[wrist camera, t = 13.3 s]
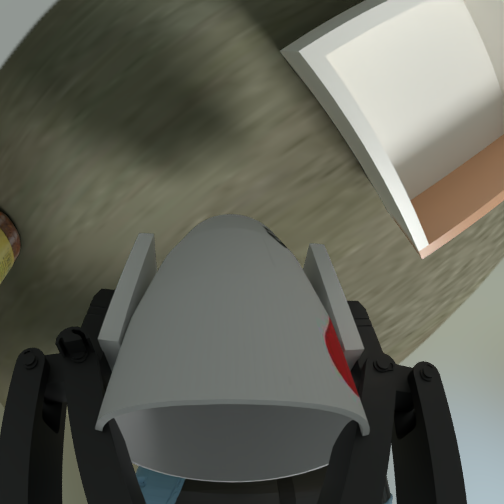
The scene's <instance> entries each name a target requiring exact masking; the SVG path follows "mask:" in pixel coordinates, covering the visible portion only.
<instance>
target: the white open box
mask: <svg viewBox="0 0 504 504" xmlns="http://www.w3.org/2000/svg"><path fill="white" fill-rule="evenodd" d="M280 52H281V54H282V55H283V56H284V57H285V59H286V60H287V62H288V63H289V65H290V66H291V67H292V69H293V70H294V71H295V72H296V74H297V75H298V76H299V77H300V78H301V80H302V81H303V82H304V83H305V84H306V85H307V86H308V88H309V89H310V90H311V92H312V93H313V95H314V96H315V97H316V99H317V100H318V101H319V103H320V104H321V106H322V107H323V108H324V110H325V111H326V113H327V114H328V115H329V117H330V118H331V120H332V121H333V123H334V124H335V126H336V127H337V129H338V130H339V132H340V133H341V135H342V136H343V138H344V139H345V141H346V142H347V144H348V145H349V147H350V148H351V150H352V152H353V153H354V155H355V156H356V158H357V160H358V161H359V163H360V164H361V166H362V168H363V170H364V172H365V174H366V176H367V178H368V179H369V181H370V182H371V184H372V185H373V187H374V188H375V190H376V192H377V193H378V195H379V197H380V199H381V200H382V202H383V204H384V206H385V208H386V210H387V211H388V213H389V214H390V215H391V217H392V218H393V219H394V221H395V222H396V223H397V225H398V226H399V227H400V229H401V230H402V231H403V233H404V234H405V236H406V237H407V238H408V240H409V241H410V243H411V244H412V245H413V247H414V248H415V250H416V251H417V253H418V254H419V255H420V257H421V258H422V259H423V258H425V257H426V256H428V255H429V254H431V253H432V252H434V251H435V250H437V249H438V248H440V247H441V246H442V245H444V244H445V243H447V242H448V241H450V240H451V239H453V238H454V237H455V236H457V235H458V234H460V233H461V232H462V231H464V230H465V229H466V228H468V227H469V226H471V225H472V224H473V223H475V222H476V221H477V220H479V219H480V218H481V217H483V216H484V215H485V214H487V213H488V212H489V211H491V210H492V209H493V208H494V207H496V206H497V205H498V204H499V203H501V202H502V201H503V200H504V0H365V1H363V2H361V3H359V4H357V5H355V6H353V7H351V8H350V9H348V10H346V11H344V12H342V13H340V14H339V15H337V16H335V17H333V18H332V19H330V20H328V21H326V22H325V23H323V24H321V25H320V26H318V27H316V28H315V29H313V30H311V31H310V32H308V33H307V34H305V35H303V36H302V37H300V38H299V39H297V40H296V41H294V42H292V43H291V44H289V45H288V46H286V47H285V48H283V49H282V50H280Z"/></svg>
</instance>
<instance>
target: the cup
mask: <svg viewBox="0 0 504 504" xmlns="http://www.w3.org/2000/svg"><path fill="white" fill-rule="evenodd" d="M112 418H114V419H115V420H116V422H117V424H118V426H119V428H120V431H121V433H122V435H123V437H124V440H125V442H126V446H127V449H128V452H129V456H130V459H131V462H132V463H134V464H136V465H138V466H141V467H143V468H146V469H149V470H152V471H156V472H159V473H163V474H167V475H171V476H176V477H181V478H186V479H193V480H201V481H213V482H252V481H263V480H272V479H278V478H284V477H289V476H294V475H298V474H302V473H306V472H309V471H313V470H316V469H319V468H322V467H324V466H327V465H328V464H329V460H330V456H331V452H332V448H333V445H334V443H335V442H336V440H337V438H338V436H339V434H340V433H341V431H342V430H343V428H344V427H345V426H346V424H347V423H349V422H350V421H351V420H355V421H356V422H358V423H359V427H360V430H361V433H362V436H365V435H369V432H370V427H369V424H368V421H367V418H366V415H365V412H364V409H363V406H362V403H361V400H360V397H359V395H358V392H357V389H356V386H355V383H354V380H353V378H352V375H351V372H350V369H349V367H348V364H347V361H346V358H345V356H344V353H343V350H342V348H341V345H340V342H339V340H338V337H337V334H336V332H335V329H334V327H333V324H332V321H331V319H330V317H329V315H328V313H327V311H326V310H325V308H324V306H323V304H322V302H321V301H320V299H319V297H318V295H317V294H316V292H315V290H314V288H313V287H312V285H311V283H310V281H309V280H308V278H307V276H306V274H305V273H304V271H303V269H302V267H301V266H300V264H299V262H298V260H297V259H296V257H295V256H294V255H293V254H292V252H291V251H290V250H289V249H288V248H287V247H286V246H285V245H284V244H283V243H282V242H281V241H280V240H279V239H278V238H277V237H276V235H275V234H274V233H273V232H272V231H271V230H270V229H269V228H268V227H267V226H265V225H264V224H262V223H261V222H259V221H257V220H255V219H253V218H250V217H247V216H243V215H236V214H226V215H219V216H215V217H212V218H209V219H207V220H204V221H203V222H201V223H199V224H198V225H197V226H195V227H194V228H193V229H192V230H191V231H190V232H189V233H188V234H187V235H186V236H185V237H184V238H183V239H182V240H181V241H180V242H179V243H178V244H177V245H176V246H175V247H174V248H173V250H172V251H171V252H170V253H169V254H168V255H167V257H166V258H165V260H164V261H163V263H162V265H161V266H160V268H159V270H158V271H157V273H156V275H155V277H154V278H153V280H152V282H151V284H150V285H149V287H148V289H147V291H146V292H145V294H144V296H143V298H142V299H141V301H140V303H139V305H138V307H137V308H136V310H135V312H134V314H133V316H132V318H131V321H130V323H129V326H128V329H127V331H126V334H125V337H124V340H123V342H122V345H121V348H120V351H119V354H118V356H117V359H116V362H115V365H114V368H113V371H112V374H111V377H110V380H109V383H108V386H107V390H106V393H105V396H104V399H103V402H102V406H101V409H100V412H99V416H98V419H97V423H96V426H95V430H99V431H102V430H103V426H104V425H105V424H106V423H107V422H108V421H109V420H111V419H112Z"/></svg>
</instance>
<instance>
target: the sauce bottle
mask: <svg viewBox="0 0 504 504" xmlns="http://www.w3.org/2000/svg"><path fill="white" fill-rule="evenodd" d="M20 247H21V244H20V237H19V234H18V232H17V230H16V228H15V226H14V225H13V223H12V222H11V220H10V219H9V218H8V217H7V216H6V215H5V214H3V212H0V284H1V282H2V281H3V279H4V278H5V276H6V275H7V273H8V272H9V270H10V269H11V268H12V266H13V263H14V261H15V260H16V258H17V257H18V255H19V253H20Z"/></svg>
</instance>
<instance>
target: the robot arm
mask: <svg viewBox="0 0 504 504" xmlns="http://www.w3.org/2000/svg"><path fill="white" fill-rule="evenodd" d="M303 271H304V273H305V274H306V276H307V278H308V280H309V281H310V283H311V285H312V287H313V288H314V290H315V292H316V294H317V295H318V297H319V299H320V301H321V302H322V304H323V306H324V308H325V310H326V311H327V313H328V315H329V317H330V319H331V321H332V324H333V327H334V329H335V332H336V334H337V337H338V340H339V342H340V345H341V348H342V350H343V353H344V356H345V358H346V361H347V364H348V367H349V369H350V372H351V375H352V378H353V380H354V383H355V386H356V389H357V392H358V395H359V397H360V400H361V403H362V406H363V409H364V412H365V415H366V418H367V421H368V424H369V427H370V432H369V435H365V436H362V433H361V430H360V427H359V423H358V422H356V421H355V420H351V421H350V422H349V423H347V424H346V426H345V427H344V428H343V430H342V431H341V433H340V434H339V436H338V438H337V440H336V442H335V443H334V445H333V448H332V452H331V456H330V460H329V464H328V465H327V466H324V467H322V468H319V469H316V470H313V471H309V472H306V473H302V474H298V475H294V476H289V477H284V478H278V479H272V480H263V481H252V482H213V481H201V480H193V479H186V478H181V477H176V476H171V475H167V474H163V473H159V472H156V471H152V470H149V469H146V468H143V467H141V466H139V467H138V469H137V472H136V474H135V471H134V468H133V465H132V462H131V459H130V456H129V452H128V449H127V446H126V442H125V440H124V437H123V435H122V433H121V431H120V428H119V426H118V424H117V422H116V420H115V419H114V418H112V419H111V420H109V421H108V422H107V423H106V424H105V425H104V426H103V430H102V431H99V430H95V426H96V423H97V419H98V416H99V412H100V409H101V406H102V402H103V399H104V396H105V393H106V390H107V386H108V383H109V380H110V377H111V374H112V371H113V368H114V365H115V362H116V359H117V356H118V354H119V351H120V348H121V345H122V342H123V340H124V337H125V334H126V331H127V329H128V326H129V323H130V321H131V318H132V316H133V314H134V312H135V310H136V308H137V307H138V305H139V303H140V301H141V299H142V298H143V296H144V294H145V292H146V291H147V289H148V287H149V285H150V284H151V282H152V280H153V278H154V277H155V275H156V273H157V265H156V254H155V241H154V234H149V233H139V234H138V237H137V239H136V241H135V243H134V246H133V248H132V250H131V253H130V255H129V257H128V260H127V262H126V265H125V267H124V269H123V272H122V274H121V277H120V279H119V282H118V284H117V287H116V290H110V289H101V290H100V291H99V292H98V293H97V294H96V295H95V296H94V297H93V300H92V302H91V304H90V307H89V309H88V312H87V315H86V316H85V319H84V321H83V324H82V326H81V328H80V327H69V328H67V329H65V330H63V331H62V332H61V333H60V334H59V335H58V337H57V338H56V343H55V344H56V346H57V348H58V350H59V352H60V353H59V354H51V355H44V354H43V352H42V351H41V350H39V349H37V348H28V349H26V350H24V351H23V352H22V353H21V354H20V355H19V356H18V358H17V361H16V364H15V368H14V371H13V375H12V379H11V383H10V387H9V392H8V396H7V401H6V406H5V411H4V416H3V422H2V427H1V434H0V504H62V460H63V442H64V429H65V418H66V409H67V406H68V414H69V421H70V426H71V432H72V439H73V444H74V449H75V454H76V459H77V463H78V468H79V472H80V476H81V480H82V484H83V488H84V491H85V495H86V498H87V502H88V504H392V497H393V496H392V494H391V493H390V490H389V485H388V480H387V476H386V475H387V469H388V462H389V455H390V447H391V444H392V453H393V462H394V472H395V484H396V497H397V504H467V500H466V492H465V485H464V478H463V472H462V466H461V461H460V455H459V450H458V445H457V440H456V435H455V431H454V426H453V422H452V418H451V414H450V410H449V406H448V402H447V398H446V395H445V392H444V388H443V384H442V381H441V378H440V374H439V372H438V370H437V368H436V367H435V366H434V365H432V364H431V363H428V362H424V361H423V362H419V363H417V364H416V365H415V366H414V367H413V368H411V367H406V366H401V365H397V364H395V362H394V360H393V359H392V358H391V357H390V356H389V355H387V354H384V353H383V351H382V349H381V346H380V344H379V341H378V339H377V336H376V334H375V331H374V329H373V327H372V324H371V321H370V320H369V316H368V314H367V312H366V309H365V308H364V307H363V306H362V305H361V304H360V303H359V301H347V300H346V298H345V295H344V292H343V290H342V287H341V285H340V282H339V280H338V277H337V275H336V272H335V270H334V267H333V265H332V262H331V260H330V258H329V255H328V253H327V250H326V248H325V245H324V244H313V243H310V244H309V248H308V252H307V256H306V260H305V264H304V268H303Z"/></svg>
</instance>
